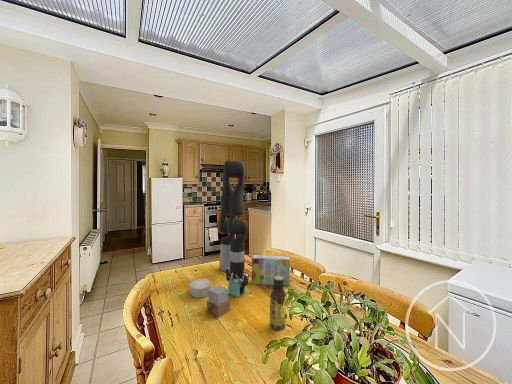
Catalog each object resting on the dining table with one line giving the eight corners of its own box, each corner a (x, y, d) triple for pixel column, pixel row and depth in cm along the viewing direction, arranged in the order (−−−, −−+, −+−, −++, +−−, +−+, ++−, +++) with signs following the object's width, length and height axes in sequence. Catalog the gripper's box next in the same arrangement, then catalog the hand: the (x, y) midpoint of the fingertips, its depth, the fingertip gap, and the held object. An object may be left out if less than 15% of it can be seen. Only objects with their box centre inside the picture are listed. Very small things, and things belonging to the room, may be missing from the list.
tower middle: (208, 301, 100) (208, 289, 100) (218, 295, 105) (218, 285, 105) (217, 305, 97) (217, 294, 97) (227, 300, 101) (228, 289, 101)
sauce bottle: (268, 321, 94) (269, 274, 93) (283, 320, 95) (284, 273, 94) (271, 331, 88) (272, 280, 87) (287, 331, 88) (288, 280, 88)
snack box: (288, 282, 132) (289, 256, 131) (289, 286, 126) (290, 259, 126) (252, 280, 134) (252, 254, 133) (251, 284, 128) (251, 257, 128)
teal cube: (228, 293, 117) (228, 282, 116) (236, 289, 121) (236, 278, 121) (237, 297, 113) (237, 285, 113) (244, 292, 118) (245, 281, 118)
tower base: (206, 312, 100) (207, 301, 100) (218, 305, 106) (218, 295, 106) (218, 318, 96) (218, 306, 96) (229, 310, 102) (229, 300, 102)
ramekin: (206, 300, 110) (206, 289, 110) (184, 297, 113) (184, 287, 112) (214, 289, 121) (214, 279, 121) (195, 287, 124) (195, 277, 123)
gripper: (221, 258, 118) (221, 290, 118) (243, 264, 109) (243, 299, 110) (231, 254, 124) (231, 285, 124) (252, 260, 115) (252, 292, 116)
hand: (236, 291), depth 117 cm, fingers closed on teal cube, 6 cm apart
